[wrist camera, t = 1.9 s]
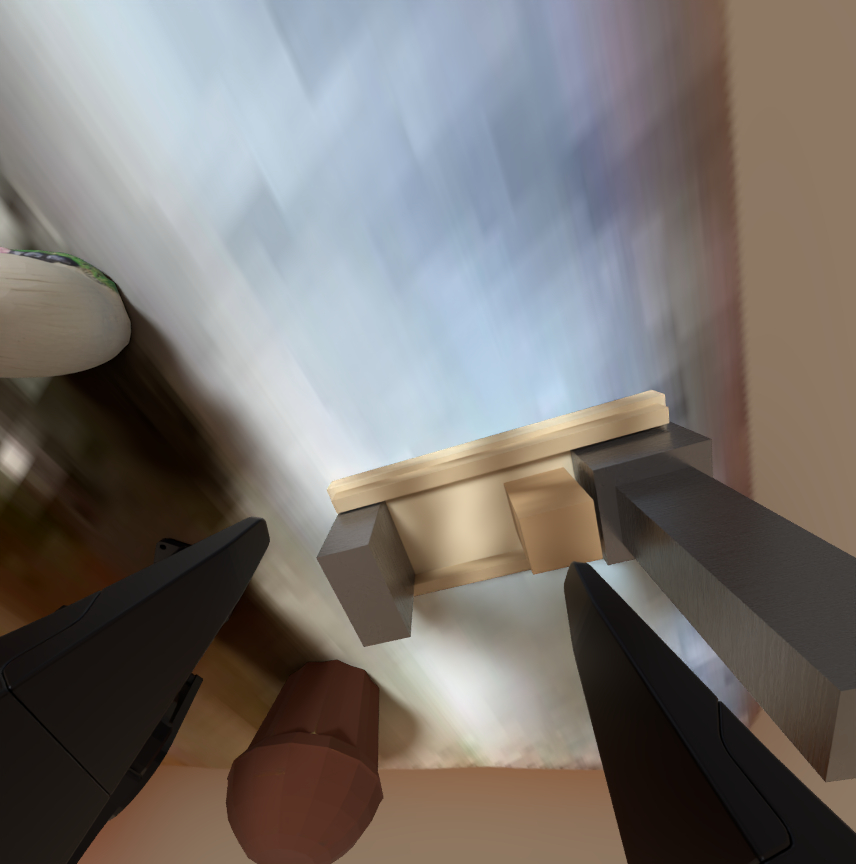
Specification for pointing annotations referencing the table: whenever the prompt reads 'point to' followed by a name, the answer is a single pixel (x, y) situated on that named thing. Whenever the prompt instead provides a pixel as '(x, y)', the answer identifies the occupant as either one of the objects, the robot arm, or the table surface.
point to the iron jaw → (370, 573)
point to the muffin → (309, 769)
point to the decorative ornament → (56, 315)
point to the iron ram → (737, 581)
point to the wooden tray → (483, 490)
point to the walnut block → (553, 520)
